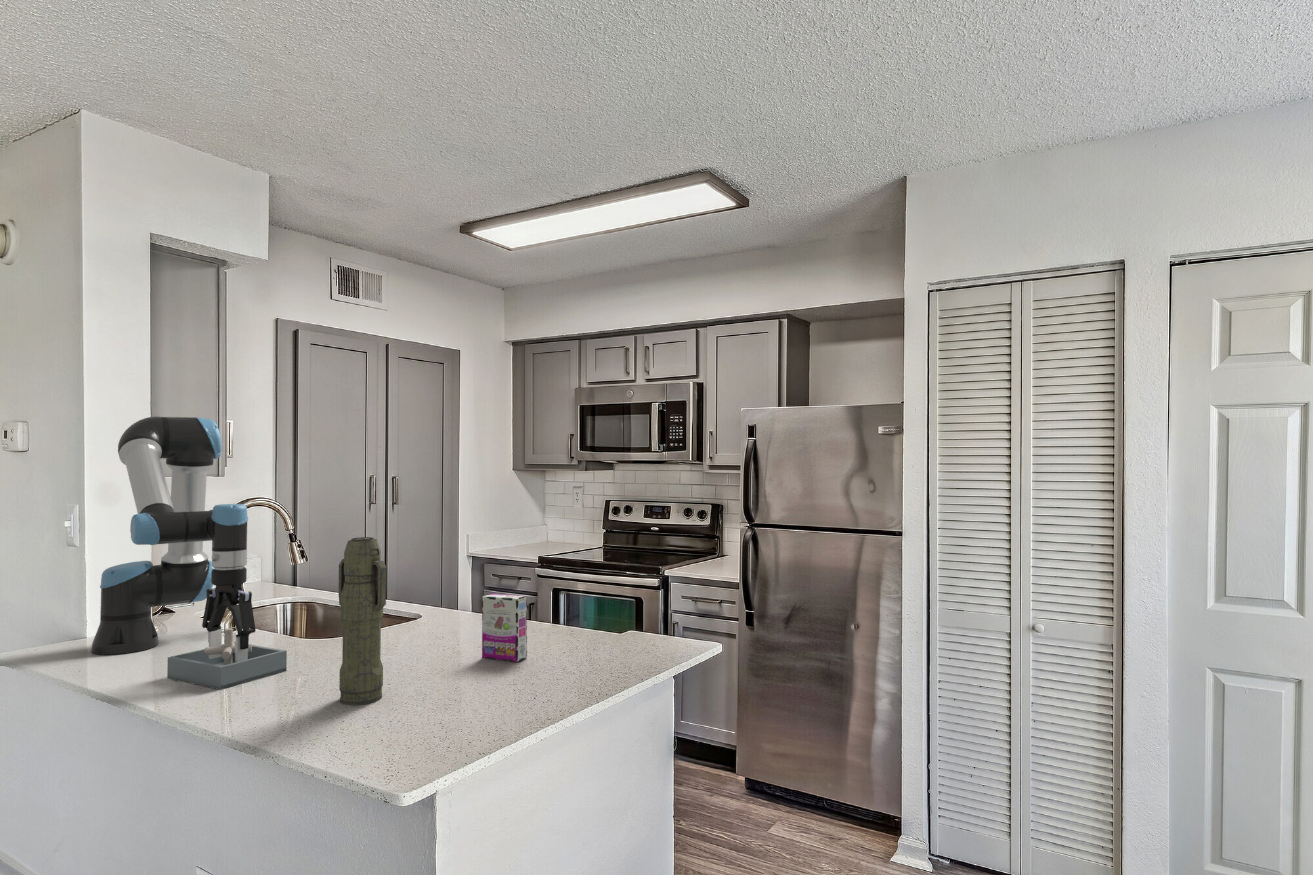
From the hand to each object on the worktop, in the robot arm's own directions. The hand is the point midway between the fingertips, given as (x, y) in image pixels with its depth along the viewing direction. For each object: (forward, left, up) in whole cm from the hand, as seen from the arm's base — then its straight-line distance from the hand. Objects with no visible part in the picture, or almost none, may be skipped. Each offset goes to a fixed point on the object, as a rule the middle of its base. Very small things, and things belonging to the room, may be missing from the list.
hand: (228, 659), depth 186 cm
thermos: (+44, +1, -4) cm, 44 cm away
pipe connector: (0, 0, -3) cm, 3 cm away
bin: (0, 0, -4) cm, 4 cm away
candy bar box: (+51, +42, -4) cm, 66 cm away
